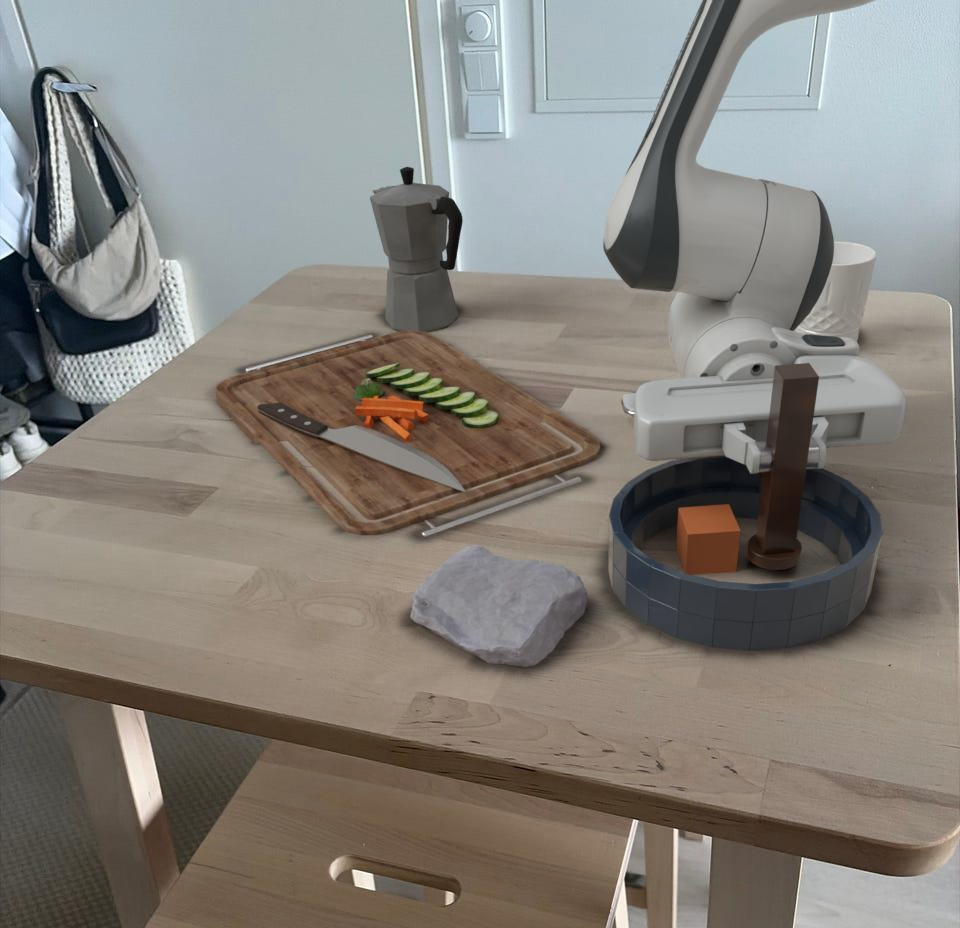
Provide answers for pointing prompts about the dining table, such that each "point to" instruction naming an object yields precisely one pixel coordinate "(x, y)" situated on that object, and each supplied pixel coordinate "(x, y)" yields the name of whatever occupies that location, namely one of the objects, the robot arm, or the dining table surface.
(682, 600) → the faceted bottomless ring
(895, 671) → the dining table surface
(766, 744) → the dining table surface
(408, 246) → the coffeepot
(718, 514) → the block
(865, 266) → the white cup
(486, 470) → the chopping board
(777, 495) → the stick
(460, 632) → the stone block
